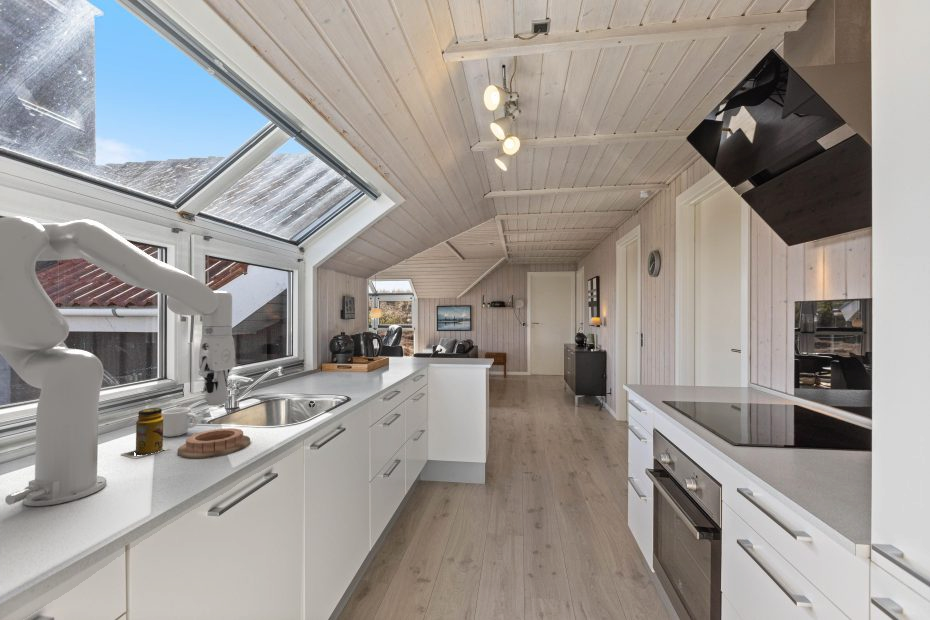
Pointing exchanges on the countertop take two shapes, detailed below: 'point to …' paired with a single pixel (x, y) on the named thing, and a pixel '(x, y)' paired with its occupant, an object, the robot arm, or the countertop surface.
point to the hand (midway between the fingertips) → (216, 393)
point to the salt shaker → (217, 391)
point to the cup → (177, 421)
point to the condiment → (148, 433)
